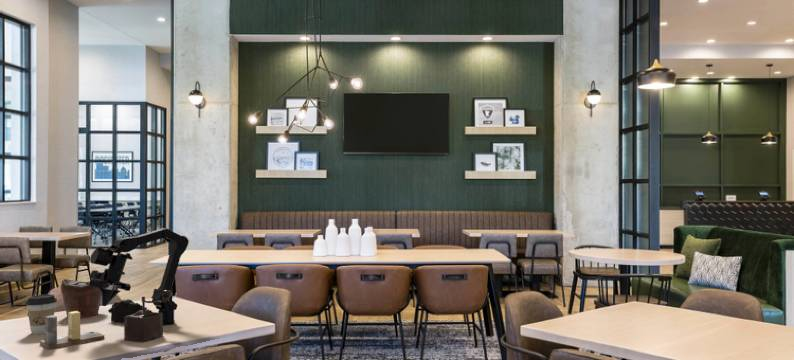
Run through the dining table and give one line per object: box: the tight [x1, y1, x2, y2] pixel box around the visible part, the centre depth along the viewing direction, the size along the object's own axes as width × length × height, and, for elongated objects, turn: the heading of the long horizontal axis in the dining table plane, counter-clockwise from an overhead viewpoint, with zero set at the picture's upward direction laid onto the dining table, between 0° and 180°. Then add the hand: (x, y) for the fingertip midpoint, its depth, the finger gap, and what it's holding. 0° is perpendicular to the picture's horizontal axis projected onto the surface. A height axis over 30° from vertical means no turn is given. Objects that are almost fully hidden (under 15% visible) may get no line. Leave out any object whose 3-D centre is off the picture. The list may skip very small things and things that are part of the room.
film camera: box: [107, 298, 148, 324], centre depth 253 cm, size 18×12×10 cm
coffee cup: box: [25, 293, 58, 335], centre depth 234 cm, size 11×11×15 cm
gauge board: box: [39, 314, 105, 350], centre depth 218 cm, size 20×10×12 cm, turn 137°
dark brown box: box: [123, 290, 173, 343], centre depth 225 cm, size 16×11×18 cm
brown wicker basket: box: [60, 278, 102, 319], centre depth 267 cm, size 18×20×18 cm
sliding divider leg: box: [67, 311, 81, 340], centre depth 218 cm, size 3×8×10 cm, turn 47°
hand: (103, 306), depth 227 cm, fingers closed
